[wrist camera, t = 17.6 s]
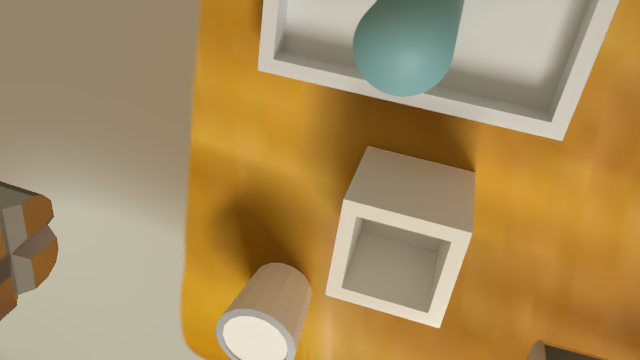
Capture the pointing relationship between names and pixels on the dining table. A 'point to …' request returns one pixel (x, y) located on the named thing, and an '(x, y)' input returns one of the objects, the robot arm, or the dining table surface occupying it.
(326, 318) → the dining table surface
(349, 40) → the tray
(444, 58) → the dowel
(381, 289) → the deep box
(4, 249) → the robot arm
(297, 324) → the tan cylinder
